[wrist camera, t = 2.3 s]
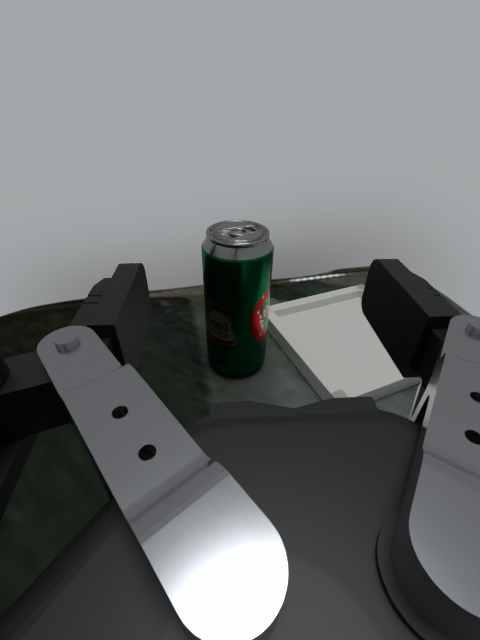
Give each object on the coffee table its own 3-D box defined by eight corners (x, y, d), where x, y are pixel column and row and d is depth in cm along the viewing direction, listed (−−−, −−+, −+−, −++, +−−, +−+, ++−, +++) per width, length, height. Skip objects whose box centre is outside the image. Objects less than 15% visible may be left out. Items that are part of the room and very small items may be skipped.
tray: (334, 415, 25) (338, 403, 24) (259, 320, 34) (260, 308, 33) (456, 369, 29) (463, 356, 28) (358, 295, 38) (362, 284, 38)
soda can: (198, 351, 30) (188, 224, 23) (245, 334, 32) (250, 213, 25) (224, 388, 27) (222, 252, 20) (275, 367, 29) (290, 237, 22)
